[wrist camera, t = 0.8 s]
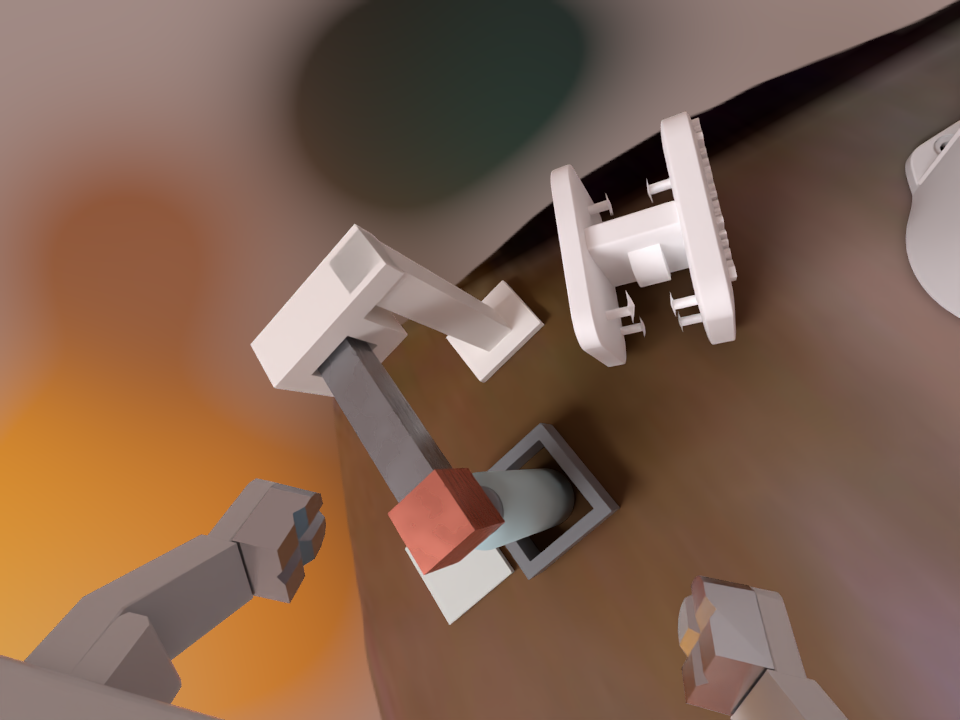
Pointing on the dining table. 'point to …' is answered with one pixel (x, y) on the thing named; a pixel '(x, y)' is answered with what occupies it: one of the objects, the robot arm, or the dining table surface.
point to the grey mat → (466, 581)
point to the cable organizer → (646, 248)
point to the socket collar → (580, 476)
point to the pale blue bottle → (525, 502)
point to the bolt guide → (385, 315)
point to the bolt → (409, 462)
